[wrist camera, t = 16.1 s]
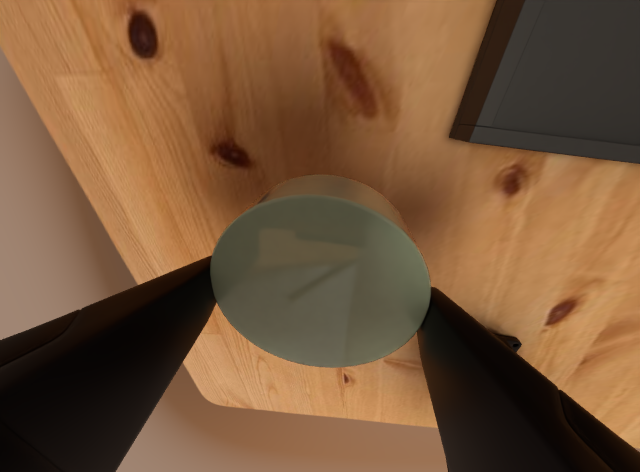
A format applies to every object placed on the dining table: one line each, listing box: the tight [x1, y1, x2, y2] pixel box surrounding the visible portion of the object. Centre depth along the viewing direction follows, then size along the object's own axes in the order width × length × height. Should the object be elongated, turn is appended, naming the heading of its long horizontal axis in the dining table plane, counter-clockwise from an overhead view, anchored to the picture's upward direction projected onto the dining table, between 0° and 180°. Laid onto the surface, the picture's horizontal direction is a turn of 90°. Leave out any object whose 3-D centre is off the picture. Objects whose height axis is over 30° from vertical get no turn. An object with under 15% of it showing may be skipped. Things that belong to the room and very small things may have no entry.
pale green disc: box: [210, 174, 431, 368], centre depth 8 cm, size 7×7×2 cm
